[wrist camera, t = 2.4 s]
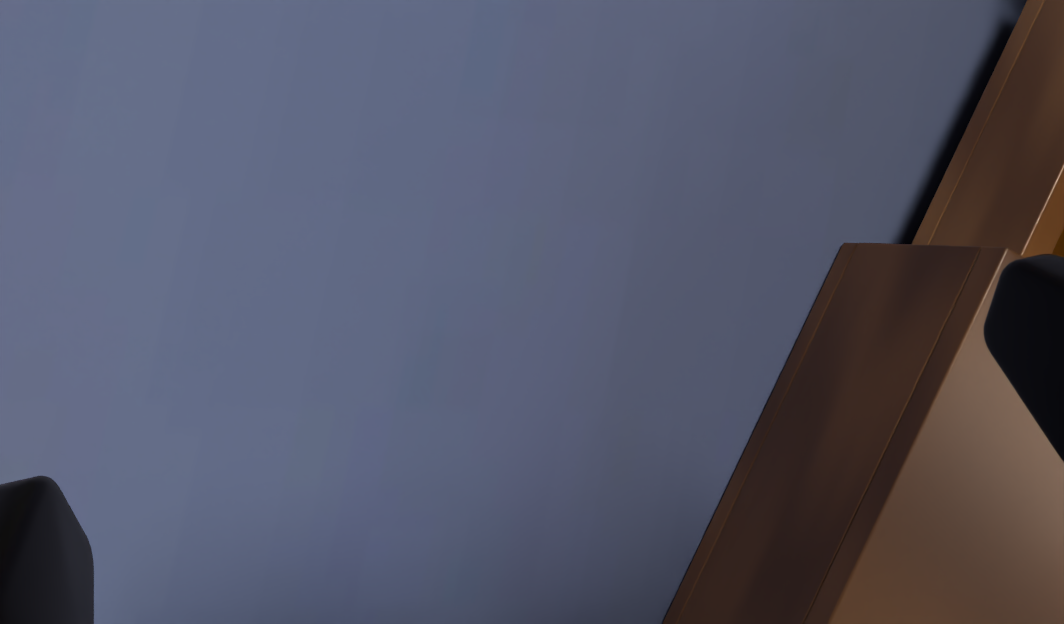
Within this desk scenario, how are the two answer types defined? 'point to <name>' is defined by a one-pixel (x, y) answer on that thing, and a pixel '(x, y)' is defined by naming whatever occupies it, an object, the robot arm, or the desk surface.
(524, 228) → the desk surface
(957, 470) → the cabinet
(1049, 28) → the drawer
